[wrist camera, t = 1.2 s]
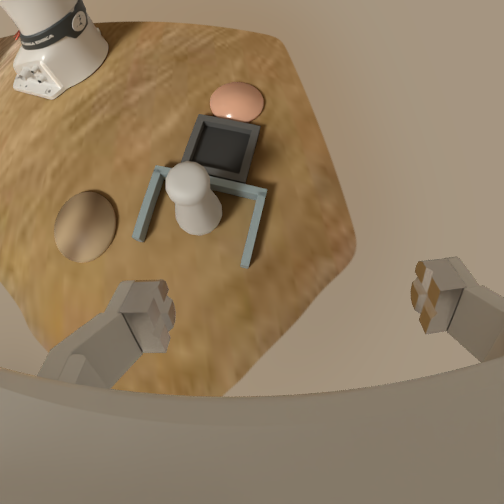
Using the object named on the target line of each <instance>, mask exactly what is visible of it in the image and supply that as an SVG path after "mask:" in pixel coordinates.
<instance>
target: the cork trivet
mask: <svg viewBox="0 0 504 504" xmlns="http://www.w3.org/2000/svg"><path fill="white" fill-rule="evenodd" d="M115 230H116V216H115V212H114V209H113V207H112V205H111V204H110V202H109V201H108V200H107V199H106V198H105V197H103V196H102V195H100V194H98V193H95V192H82V193H79V194H77V195H75V196H73V197H72V198H70V199H69V200H68V201H67V202H66V203H65V204H64V205H63V206H62V208H61V210H60V211H59V213H58V215H57V218H56V222H55V227H54V236H55V241H56V245H57V247H58V249H59V250H60V252H61V253H62V254H63V255H64V256H65V257H66V258H68V259H69V260H72V261H75V262H81V263H84V262H90V261H92V260H95V259H96V258H98V257H99V256H101V255H102V254H103V253H104V252H105V251H106V250H107V248H108V247H109V246H110V244H111V242H112V240H113V237H114V235H115Z"/></svg>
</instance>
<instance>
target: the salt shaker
mask: <svg viewBox="0 0 504 504" xmlns="http://www.w3.org/2000/svg"><path fill="white" fill-rule="evenodd" d="M166 191H167V193H168V195H169V197H170V199H171V200H172V201H173V202H175V213H176V220H177V222H178V224H179V225H180V227H181V228H182V229H183V230H185V231H186V232H188V233H189V234H193V235H203V234H207V233H210V232H211V231H212V230H213V229H215V228H216V227H217V226H218V224H219V222H220V219H221V217H222V205H221V203H220V201H219V200H218V198H217V196H216V195H215V194H214V193H213V191H212V190H211V189H210V176H209V175H208V173H207V171H206V169H205V168H204V167H203V166H201V165H200V164H198V163H197V162H191V161H185V162H182V163H179V164H177V165H175V166H174V167H173V168H172V169H170V171H169V173H168V175H167V177H166Z"/></svg>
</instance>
